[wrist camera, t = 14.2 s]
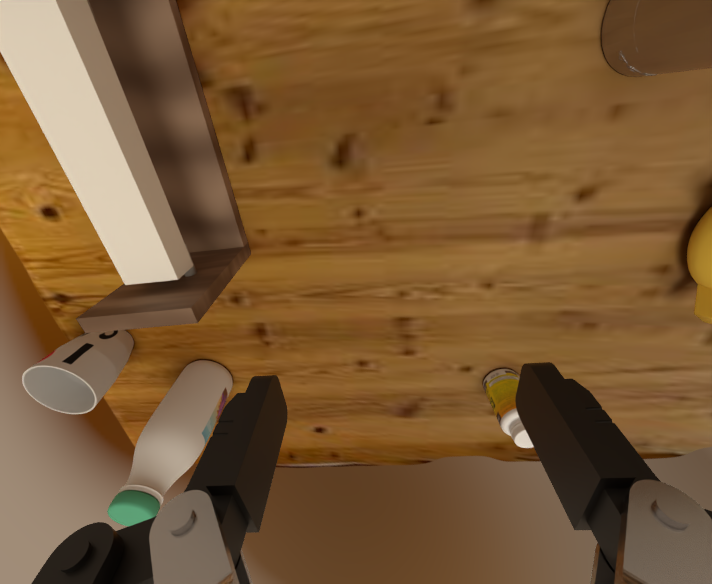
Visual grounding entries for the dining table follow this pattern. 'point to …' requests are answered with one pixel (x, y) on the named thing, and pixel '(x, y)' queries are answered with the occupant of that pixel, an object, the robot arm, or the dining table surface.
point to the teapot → (702, 265)
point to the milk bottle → (172, 440)
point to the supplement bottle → (506, 404)
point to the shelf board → (93, 133)
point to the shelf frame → (170, 165)
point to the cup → (79, 371)
